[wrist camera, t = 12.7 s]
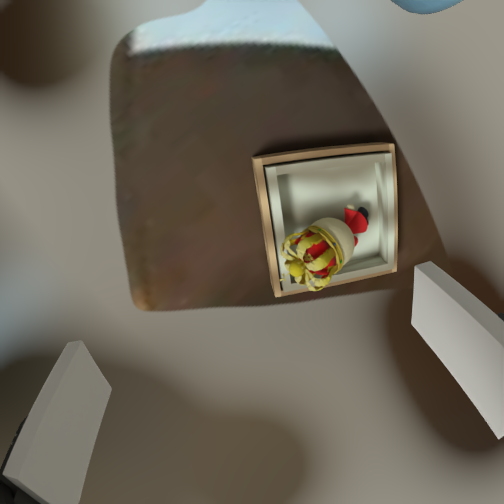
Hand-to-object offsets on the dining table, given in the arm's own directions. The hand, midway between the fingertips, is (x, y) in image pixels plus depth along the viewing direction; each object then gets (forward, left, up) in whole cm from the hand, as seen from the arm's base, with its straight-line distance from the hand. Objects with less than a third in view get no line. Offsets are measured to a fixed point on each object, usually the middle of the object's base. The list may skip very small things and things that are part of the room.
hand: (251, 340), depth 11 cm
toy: (+6, +17, -28) cm, 33 cm away
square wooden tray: (+5, +12, -31) cm, 33 cm away
